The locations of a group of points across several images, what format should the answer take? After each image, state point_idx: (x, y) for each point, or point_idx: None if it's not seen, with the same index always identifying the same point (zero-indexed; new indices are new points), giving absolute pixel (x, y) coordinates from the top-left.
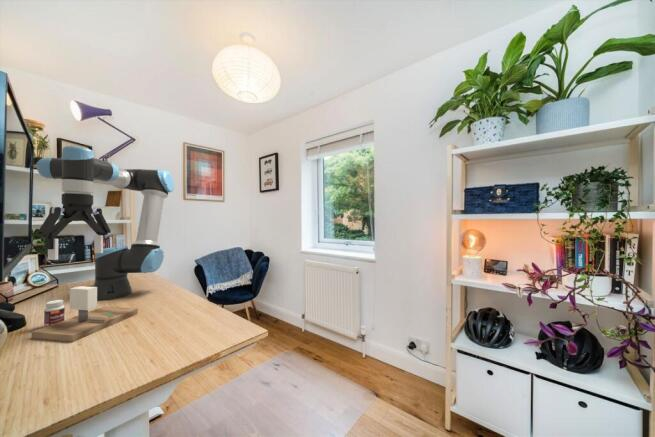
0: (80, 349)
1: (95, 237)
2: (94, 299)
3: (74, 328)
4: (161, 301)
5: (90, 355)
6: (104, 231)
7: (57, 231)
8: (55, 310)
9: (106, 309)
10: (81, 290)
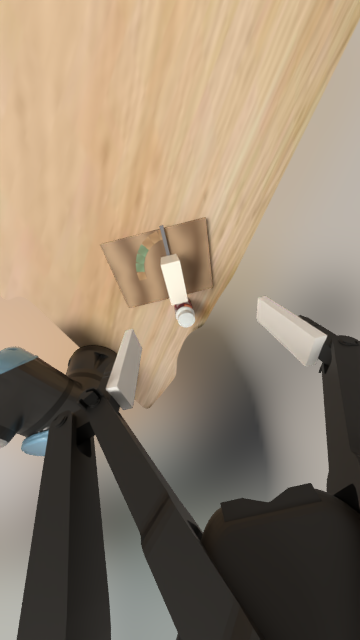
0: (215, 170)
1: (132, 395)
2: (165, 259)
3: (190, 247)
4: (47, 268)
5: (225, 117)
6: (88, 415)
7: (356, 368)
8: (188, 306)
9: (132, 290)
10: (182, 274)
